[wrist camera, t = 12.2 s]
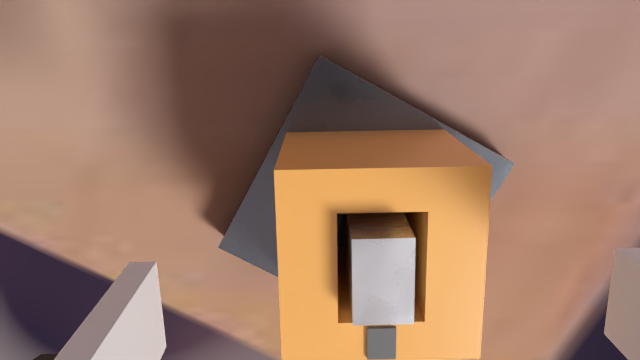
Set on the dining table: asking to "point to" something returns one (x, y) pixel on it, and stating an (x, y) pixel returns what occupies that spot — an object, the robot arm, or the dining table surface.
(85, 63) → the dining table surface
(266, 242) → the post plate
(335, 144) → the orange slotted box
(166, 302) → the dining table surface
